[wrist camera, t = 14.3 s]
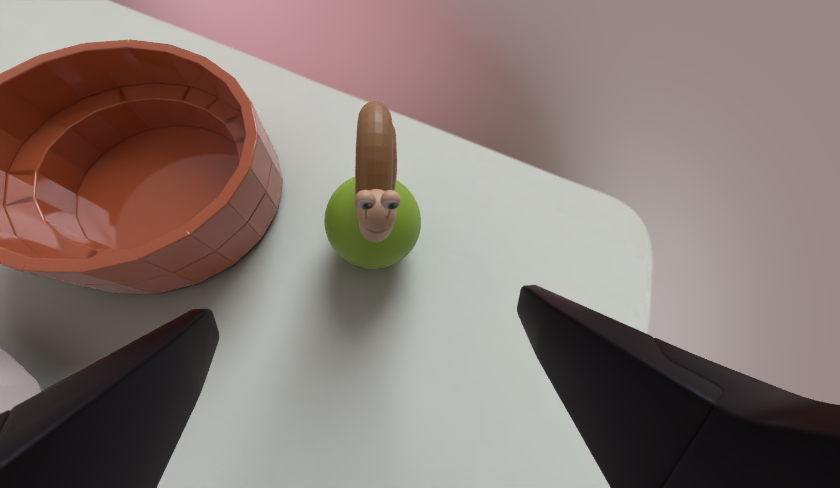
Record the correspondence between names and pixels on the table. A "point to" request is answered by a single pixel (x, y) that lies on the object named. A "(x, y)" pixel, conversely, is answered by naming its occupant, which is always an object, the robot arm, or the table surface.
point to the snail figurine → (373, 199)
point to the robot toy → (14, 383)
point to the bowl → (130, 168)
